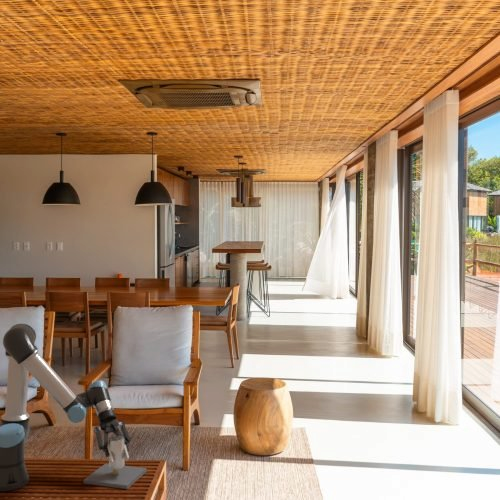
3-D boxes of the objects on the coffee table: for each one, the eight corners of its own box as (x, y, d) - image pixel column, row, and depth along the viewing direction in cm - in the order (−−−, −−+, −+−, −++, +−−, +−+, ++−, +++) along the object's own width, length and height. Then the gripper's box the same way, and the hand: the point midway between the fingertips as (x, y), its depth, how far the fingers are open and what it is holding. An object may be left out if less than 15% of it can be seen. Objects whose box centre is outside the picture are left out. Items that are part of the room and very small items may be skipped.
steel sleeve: (106, 468, 240) (106, 440, 240) (113, 462, 246) (113, 435, 245) (119, 469, 238) (119, 441, 238) (126, 464, 244) (126, 436, 244)
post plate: (83, 483, 236) (83, 460, 236) (105, 466, 253) (105, 445, 253) (127, 489, 231) (127, 465, 230) (146, 471, 248) (146, 449, 248)
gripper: (123, 413, 260) (138, 460, 247) (82, 421, 249) (95, 470, 236) (128, 404, 255) (143, 451, 242) (86, 412, 244) (100, 462, 231)
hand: (119, 461), depth 239 cm, fingers closed on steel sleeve, 6 cm apart
